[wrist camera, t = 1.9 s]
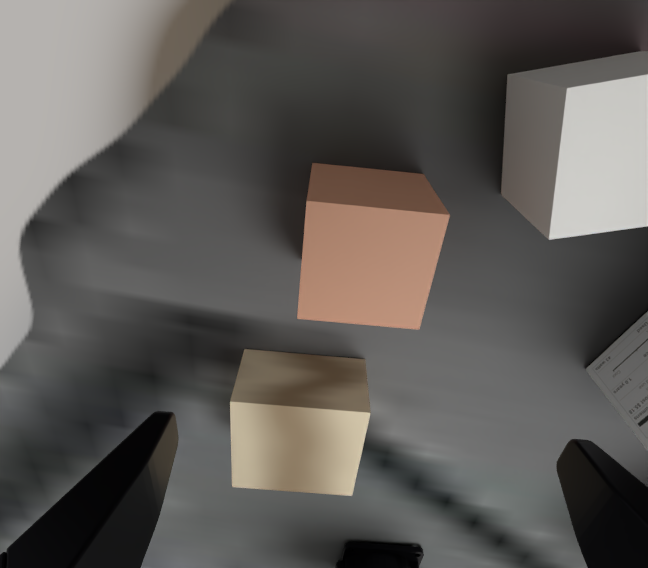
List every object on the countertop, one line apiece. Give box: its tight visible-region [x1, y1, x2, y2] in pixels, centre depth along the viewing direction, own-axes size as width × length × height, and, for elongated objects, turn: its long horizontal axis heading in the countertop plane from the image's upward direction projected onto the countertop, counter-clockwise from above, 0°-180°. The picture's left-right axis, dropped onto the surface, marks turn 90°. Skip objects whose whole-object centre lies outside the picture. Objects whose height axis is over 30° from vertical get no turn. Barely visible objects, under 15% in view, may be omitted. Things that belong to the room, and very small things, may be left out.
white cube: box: [501, 51, 648, 240], centre depth 16 cm, size 5×5×5 cm
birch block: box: [230, 349, 371, 496], centre depth 24 cm, size 7×7×4 cm
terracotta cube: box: [297, 163, 450, 330], centre depth 18 cm, size 5×5×5 cm
